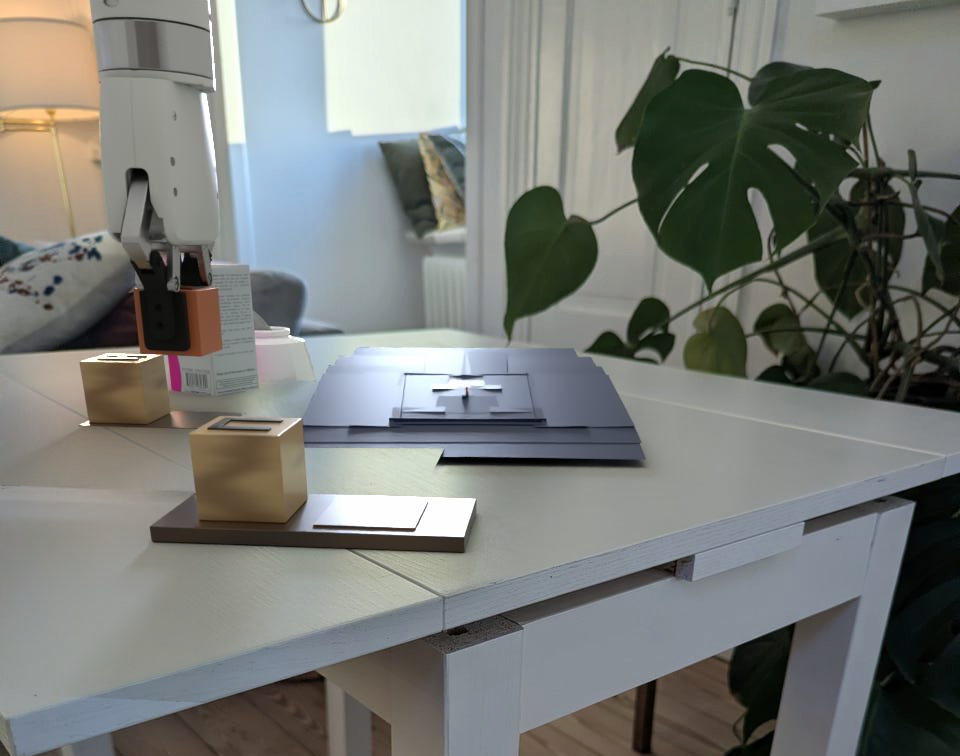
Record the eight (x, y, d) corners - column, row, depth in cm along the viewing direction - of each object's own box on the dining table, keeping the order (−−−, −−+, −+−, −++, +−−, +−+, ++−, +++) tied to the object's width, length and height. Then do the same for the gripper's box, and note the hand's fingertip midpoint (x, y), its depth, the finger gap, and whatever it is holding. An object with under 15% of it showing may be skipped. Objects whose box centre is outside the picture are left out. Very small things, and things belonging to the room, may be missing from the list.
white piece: (309, 389, 90) (302, 278, 86) (122, 388, 90) (106, 277, 86) (323, 374, 99) (317, 273, 95) (152, 373, 99) (138, 272, 95)
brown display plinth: (151, 541, 48) (136, 435, 45) (200, 503, 54) (189, 408, 52) (464, 552, 46) (464, 443, 44) (476, 512, 53) (477, 416, 51)
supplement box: (262, 395, 87) (251, 262, 82) (214, 404, 82) (200, 264, 78) (218, 389, 90) (205, 260, 85) (169, 398, 85) (153, 262, 81)
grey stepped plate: (591, 377, 90) (594, 338, 88) (646, 497, 64) (651, 446, 62) (337, 376, 89) (334, 337, 87) (290, 497, 64) (284, 445, 62)
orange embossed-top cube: (139, 354, 68) (132, 286, 66) (164, 346, 72) (158, 283, 71) (201, 356, 68) (196, 289, 66) (222, 349, 72) (218, 285, 70)
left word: (79, 435, 70) (67, 361, 68) (116, 419, 76) (106, 350, 74) (219, 439, 70) (212, 364, 67) (246, 422, 75) (240, 353, 73)
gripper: (152, 80, 71) (176, 332, 78) (36, 37, 55) (79, 358, 62) (249, 82, 70) (264, 336, 78) (160, 40, 55) (189, 363, 62)
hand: (181, 343), depth 70 cm, fingers closed on orange embossed-top cube, 4 cm apart
